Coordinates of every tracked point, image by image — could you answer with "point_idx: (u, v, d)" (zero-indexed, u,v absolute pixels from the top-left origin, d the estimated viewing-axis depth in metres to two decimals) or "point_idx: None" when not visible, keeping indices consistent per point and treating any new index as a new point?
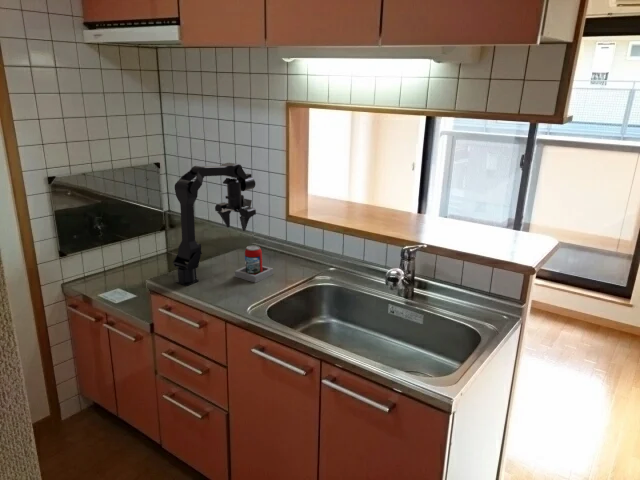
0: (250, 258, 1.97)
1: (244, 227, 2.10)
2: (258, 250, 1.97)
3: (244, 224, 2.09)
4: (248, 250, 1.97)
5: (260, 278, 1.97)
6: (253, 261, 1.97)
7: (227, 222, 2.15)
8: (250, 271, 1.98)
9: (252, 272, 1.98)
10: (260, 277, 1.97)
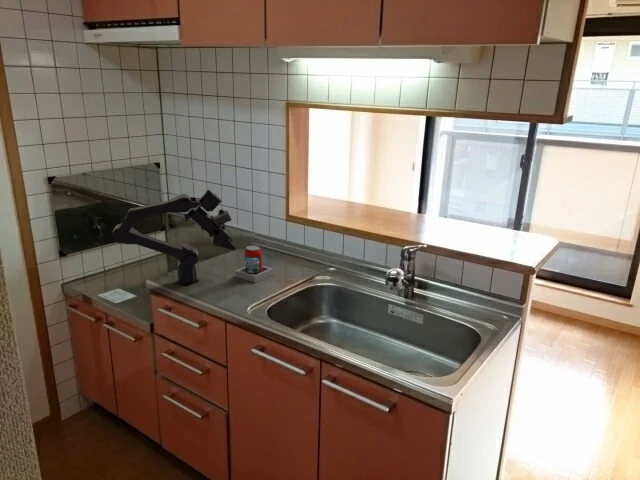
0: (250, 258, 1.97)
1: (231, 248, 1.91)
2: (258, 250, 1.97)
3: (227, 246, 1.90)
4: (248, 250, 1.97)
5: (260, 278, 1.97)
6: (253, 261, 1.97)
7: None
8: (250, 271, 1.98)
9: (252, 272, 1.98)
10: (260, 277, 1.97)
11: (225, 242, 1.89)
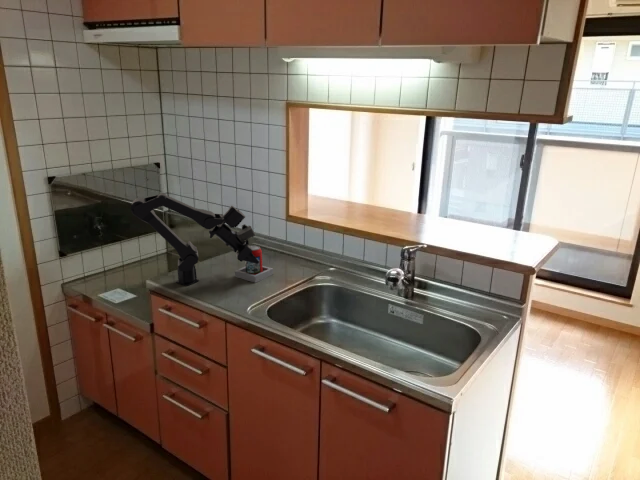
0: None
1: (254, 261, 1.96)
2: (258, 250, 1.97)
3: (251, 260, 1.95)
4: None
5: (260, 278, 1.97)
6: None
7: None
8: (250, 271, 1.98)
9: (252, 272, 1.98)
10: (260, 277, 1.97)
11: (249, 256, 1.94)
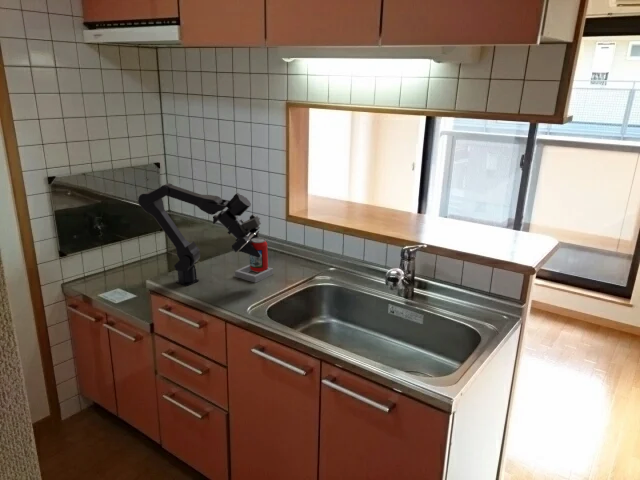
0: None
1: (255, 254, 1.83)
2: (261, 243, 1.84)
3: (251, 253, 1.83)
4: None
5: (260, 278, 1.97)
6: None
7: None
8: (252, 264, 1.86)
9: (253, 266, 1.86)
10: (260, 277, 1.97)
11: (248, 248, 1.82)
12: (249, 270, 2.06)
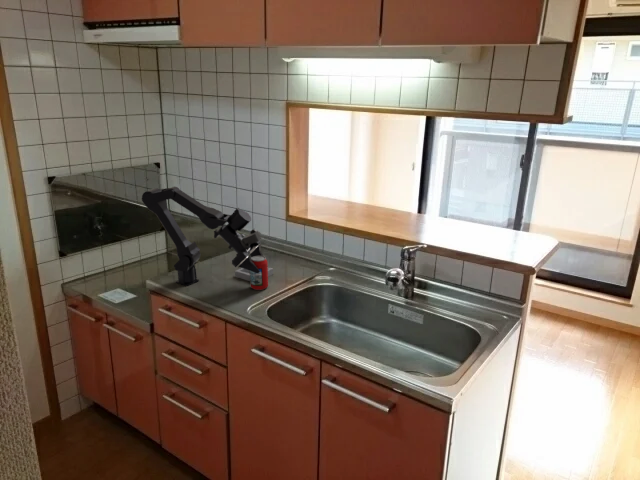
0: None
1: (254, 270, 1.83)
2: (261, 262, 1.85)
3: (250, 268, 1.83)
4: None
5: None
6: (254, 272, 1.85)
7: None
8: (252, 282, 1.87)
9: (253, 284, 1.87)
10: None
11: (248, 264, 1.82)
12: (249, 270, 2.06)
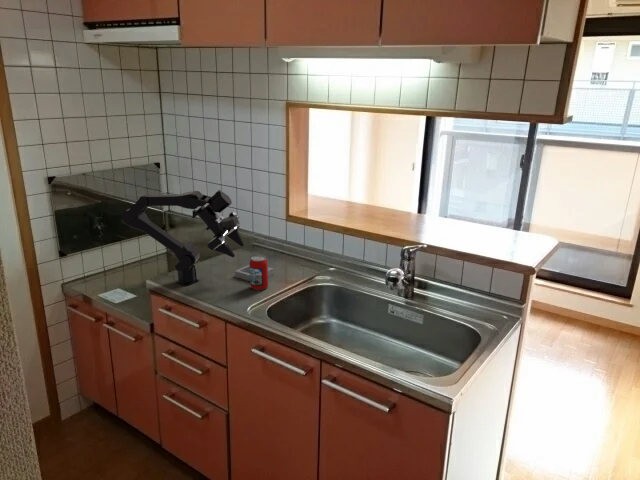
0: (252, 269, 1.86)
1: (229, 254, 1.86)
2: (261, 262, 1.85)
3: (225, 252, 1.85)
4: (251, 260, 1.86)
5: None
6: (254, 272, 1.85)
7: (238, 242, 1.94)
8: (252, 282, 1.87)
9: (253, 284, 1.87)
10: None
11: (223, 248, 1.85)
12: (249, 270, 2.06)
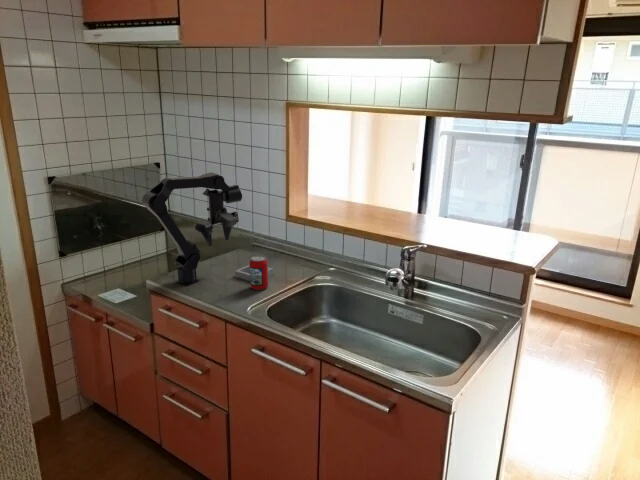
0: (252, 269, 1.86)
1: (207, 242, 1.96)
2: (261, 262, 1.85)
3: (206, 238, 1.96)
4: (251, 260, 1.86)
5: None
6: (254, 272, 1.85)
7: (225, 234, 2.04)
8: (252, 282, 1.87)
9: (253, 284, 1.87)
10: None
11: (206, 234, 1.95)
12: (249, 270, 2.06)
